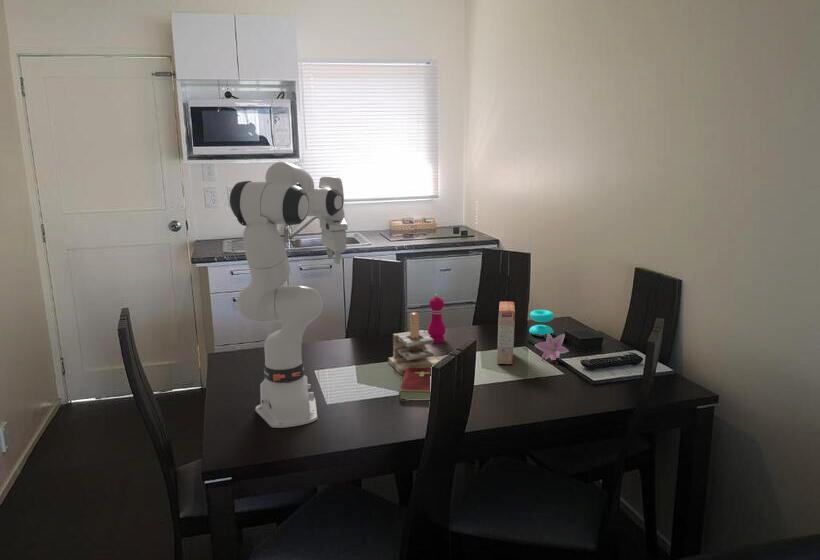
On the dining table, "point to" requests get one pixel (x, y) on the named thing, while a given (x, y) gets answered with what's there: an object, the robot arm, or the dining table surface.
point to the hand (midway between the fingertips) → (333, 261)
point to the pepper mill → (436, 320)
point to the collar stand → (404, 355)
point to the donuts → (541, 317)
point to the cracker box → (506, 332)
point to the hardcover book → (416, 383)
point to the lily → (552, 347)
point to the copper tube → (414, 332)
